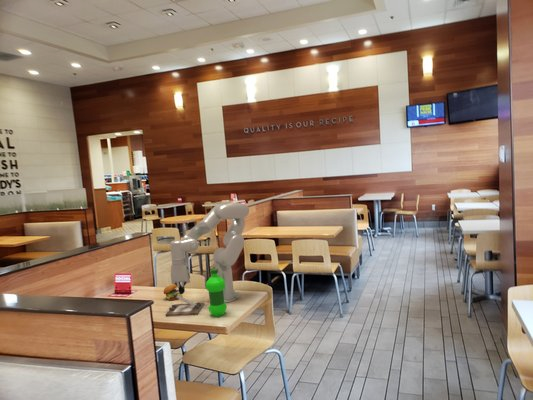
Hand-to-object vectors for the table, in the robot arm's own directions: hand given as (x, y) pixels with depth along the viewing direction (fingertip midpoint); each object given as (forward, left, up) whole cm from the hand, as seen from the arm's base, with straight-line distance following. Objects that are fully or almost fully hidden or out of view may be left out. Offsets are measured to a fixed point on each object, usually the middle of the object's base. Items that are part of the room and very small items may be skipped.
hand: (181, 293), depth 222 cm
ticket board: (-1, 0, -10) cm, 10 cm away
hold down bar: (-2, 0, -5) cm, 5 cm away
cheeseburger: (+14, -23, -10) cm, 29 cm away
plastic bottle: (-22, +9, -10) cm, 26 cm away
